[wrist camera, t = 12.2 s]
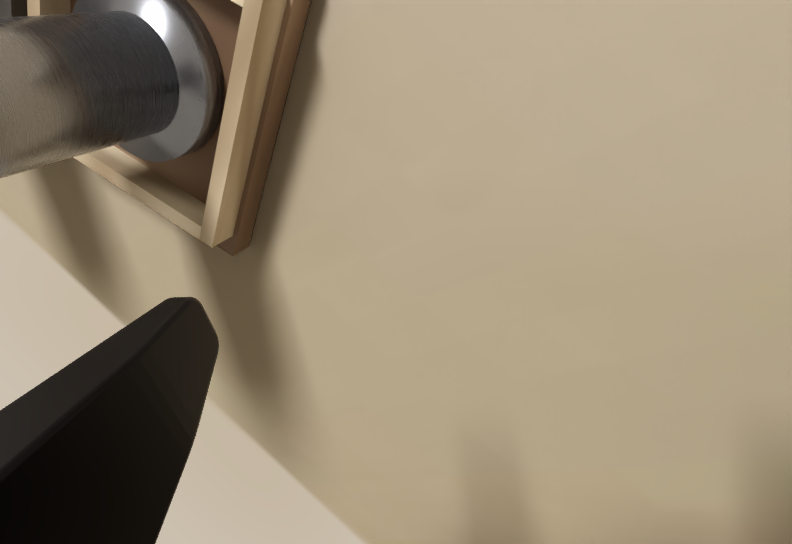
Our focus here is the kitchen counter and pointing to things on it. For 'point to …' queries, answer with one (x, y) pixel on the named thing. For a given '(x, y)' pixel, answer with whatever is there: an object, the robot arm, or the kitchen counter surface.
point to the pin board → (238, 128)
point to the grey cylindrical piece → (107, 83)
